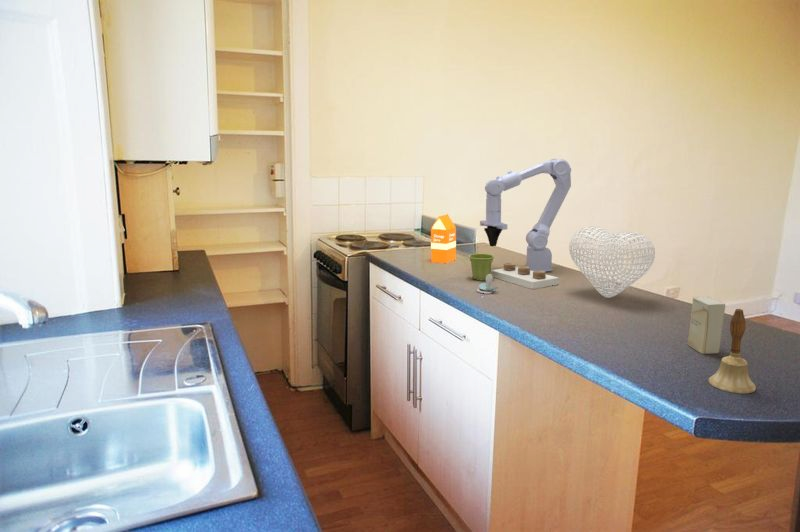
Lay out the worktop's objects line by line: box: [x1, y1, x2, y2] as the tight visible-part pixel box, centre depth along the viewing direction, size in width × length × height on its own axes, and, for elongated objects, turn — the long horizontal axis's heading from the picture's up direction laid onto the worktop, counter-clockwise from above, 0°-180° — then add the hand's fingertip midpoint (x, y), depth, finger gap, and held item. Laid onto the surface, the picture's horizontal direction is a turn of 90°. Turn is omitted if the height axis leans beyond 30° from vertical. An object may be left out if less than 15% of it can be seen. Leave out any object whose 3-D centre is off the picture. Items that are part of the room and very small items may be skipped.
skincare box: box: [687, 296, 726, 355], centre depth 130 cm, size 6×4×12 cm
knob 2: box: [533, 270, 546, 279], centre depth 195 cm, size 4×4×5 cm
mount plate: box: [490, 266, 560, 290], centre depth 202 cm, size 12×23×2 cm, turn 29°
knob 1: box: [503, 262, 517, 271], centre depth 209 cm, size 4×4×5 cm
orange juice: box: [430, 213, 457, 264], centre depth 238 cm, size 8×9×20 cm
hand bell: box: [708, 308, 757, 395], centre depth 110 cm, size 8×8×16 cm
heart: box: [568, 225, 656, 299], centre depth 175 cm, size 28×16×22 cm, turn 31°
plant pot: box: [468, 253, 495, 281], centre depth 206 cm, size 9×9×9 cm
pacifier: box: [476, 273, 499, 295], centre depth 187 cm, size 7×6×6 cm
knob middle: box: [518, 265, 530, 275], centre depth 202 cm, size 4×4×5 cm
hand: (493, 245), depth 215 cm, fingers closed
